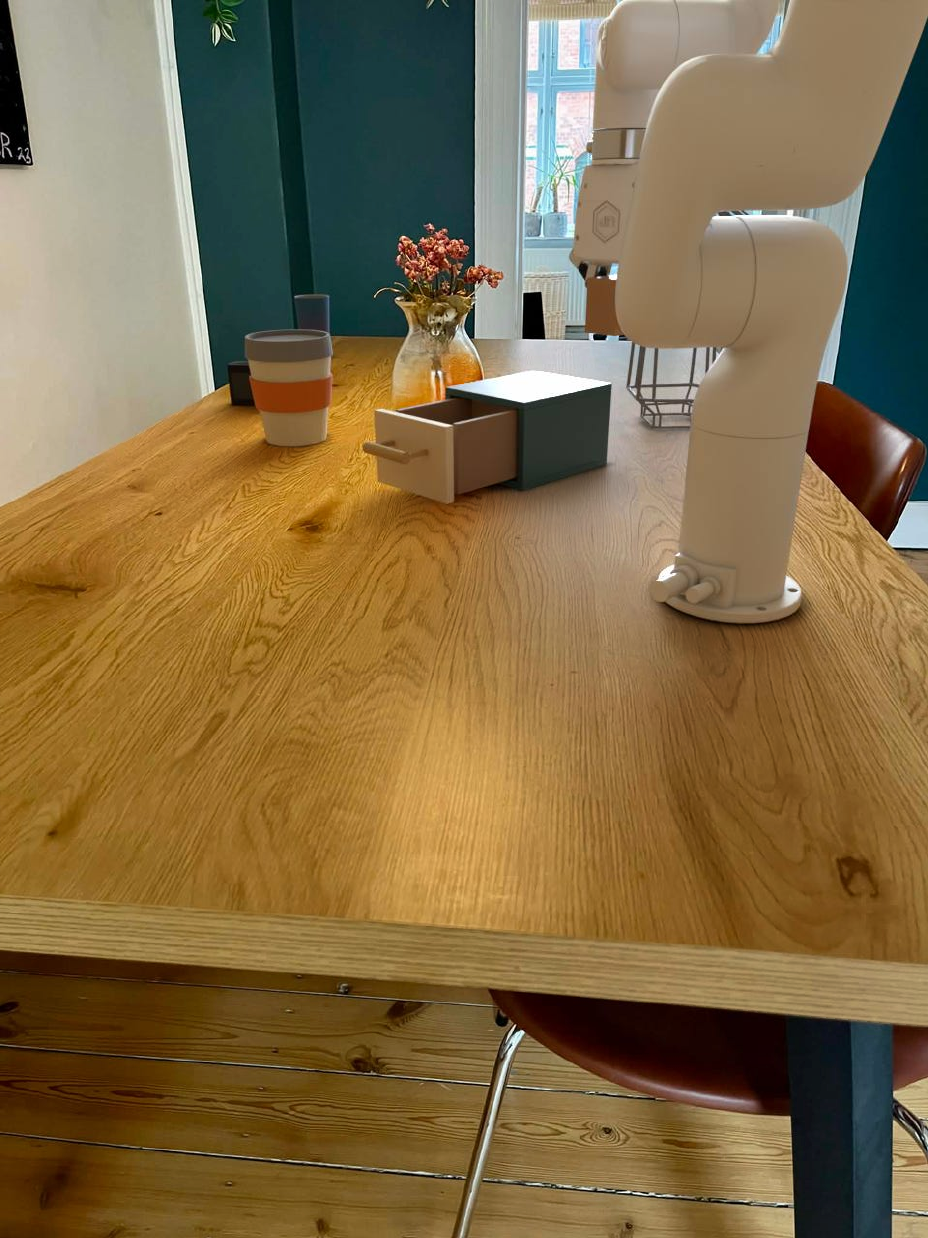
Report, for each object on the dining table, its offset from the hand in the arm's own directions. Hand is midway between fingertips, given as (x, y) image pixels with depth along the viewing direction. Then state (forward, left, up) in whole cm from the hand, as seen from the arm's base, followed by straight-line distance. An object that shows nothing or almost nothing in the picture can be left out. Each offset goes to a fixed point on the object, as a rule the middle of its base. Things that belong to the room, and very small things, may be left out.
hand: (615, 324), depth 106 cm
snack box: (0, 0, -1) cm, 1 cm away
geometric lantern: (+34, +14, -20) cm, 42 cm away
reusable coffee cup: (-14, +48, -20) cm, 53 cm away
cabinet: (-1, +13, -19) cm, 23 cm away
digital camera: (-4, +73, -20) cm, 76 cm away
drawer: (-15, +13, -18) cm, 27 cm away
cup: (+20, +90, -20) cm, 94 cm away
